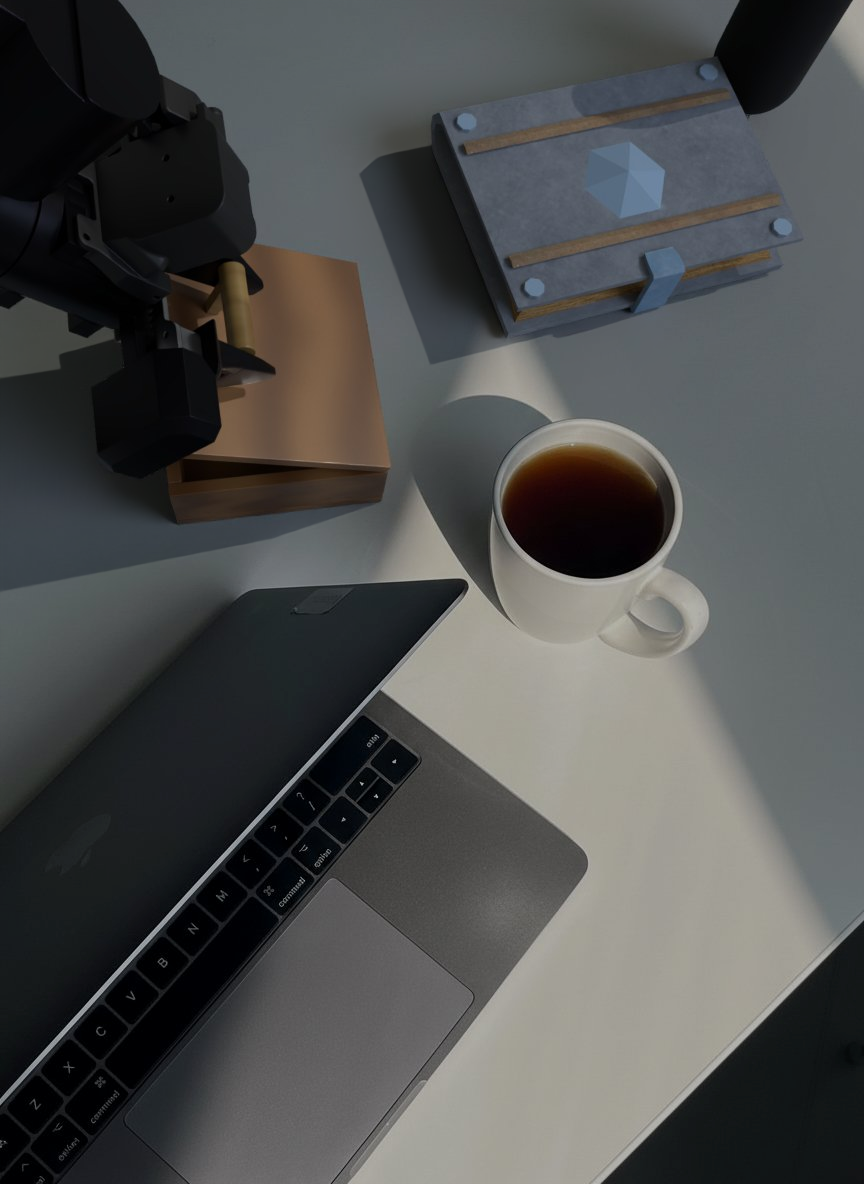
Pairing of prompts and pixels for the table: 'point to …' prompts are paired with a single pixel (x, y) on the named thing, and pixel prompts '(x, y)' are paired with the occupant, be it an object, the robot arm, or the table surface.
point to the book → (612, 194)
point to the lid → (292, 362)
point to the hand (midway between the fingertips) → (264, 332)
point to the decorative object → (774, 47)
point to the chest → (263, 489)
